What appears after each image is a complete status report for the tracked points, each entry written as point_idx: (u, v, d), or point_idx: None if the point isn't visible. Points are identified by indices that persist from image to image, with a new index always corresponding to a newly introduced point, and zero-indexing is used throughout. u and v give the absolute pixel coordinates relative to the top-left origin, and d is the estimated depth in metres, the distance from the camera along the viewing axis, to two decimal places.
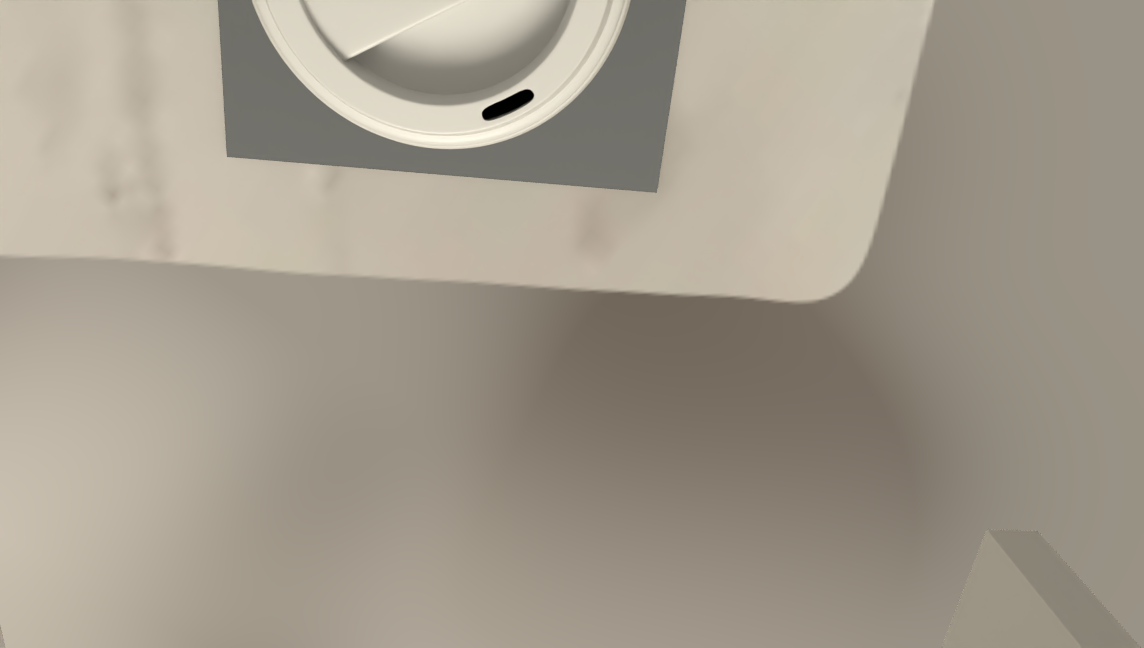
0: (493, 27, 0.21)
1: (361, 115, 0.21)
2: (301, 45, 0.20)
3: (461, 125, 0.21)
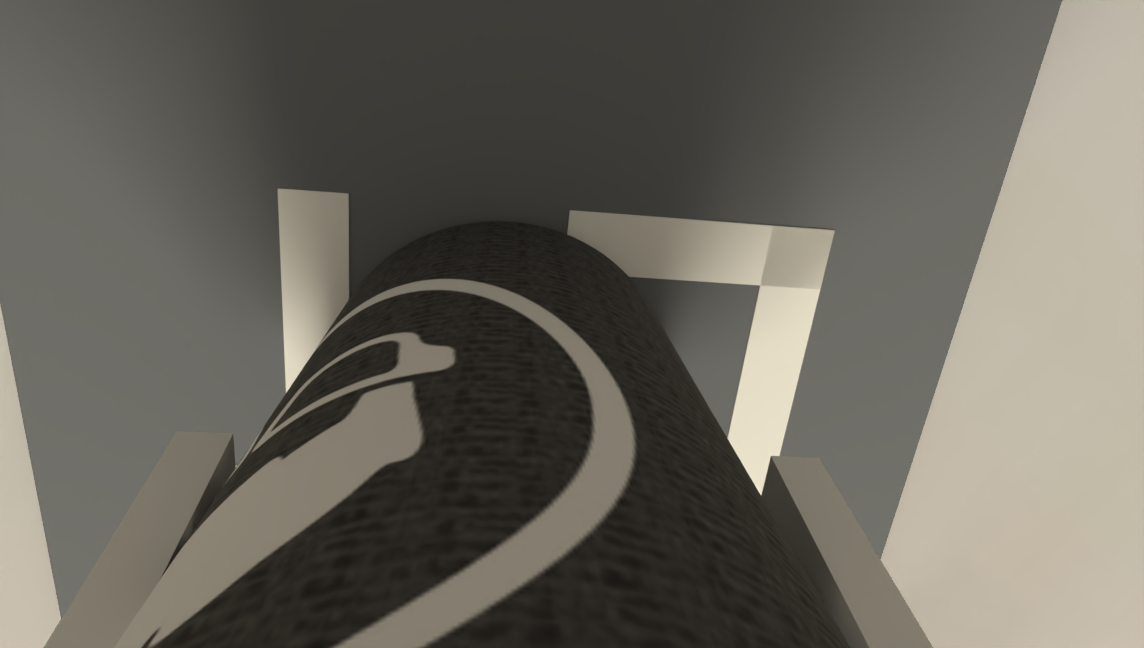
0: None
1: None
2: None
3: None
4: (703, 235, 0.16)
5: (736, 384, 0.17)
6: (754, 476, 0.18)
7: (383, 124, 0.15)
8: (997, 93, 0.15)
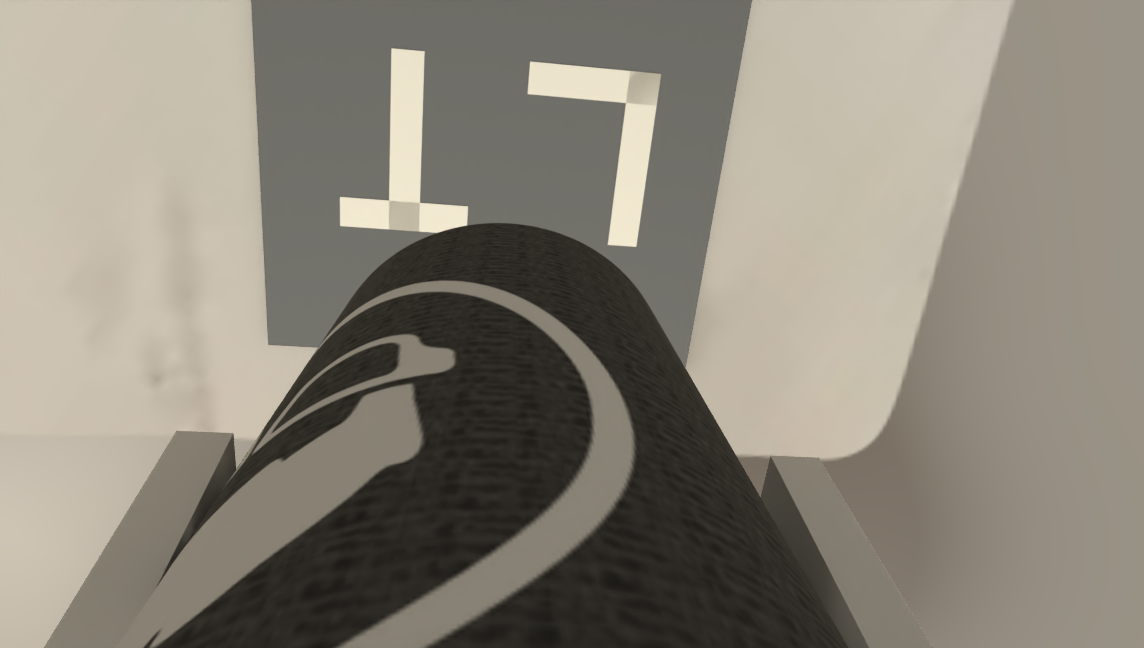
0: None
1: None
2: None
3: None
4: (596, 75, 0.32)
5: (617, 158, 0.34)
6: (630, 213, 0.35)
7: (442, 16, 0.31)
8: (734, 4, 0.32)
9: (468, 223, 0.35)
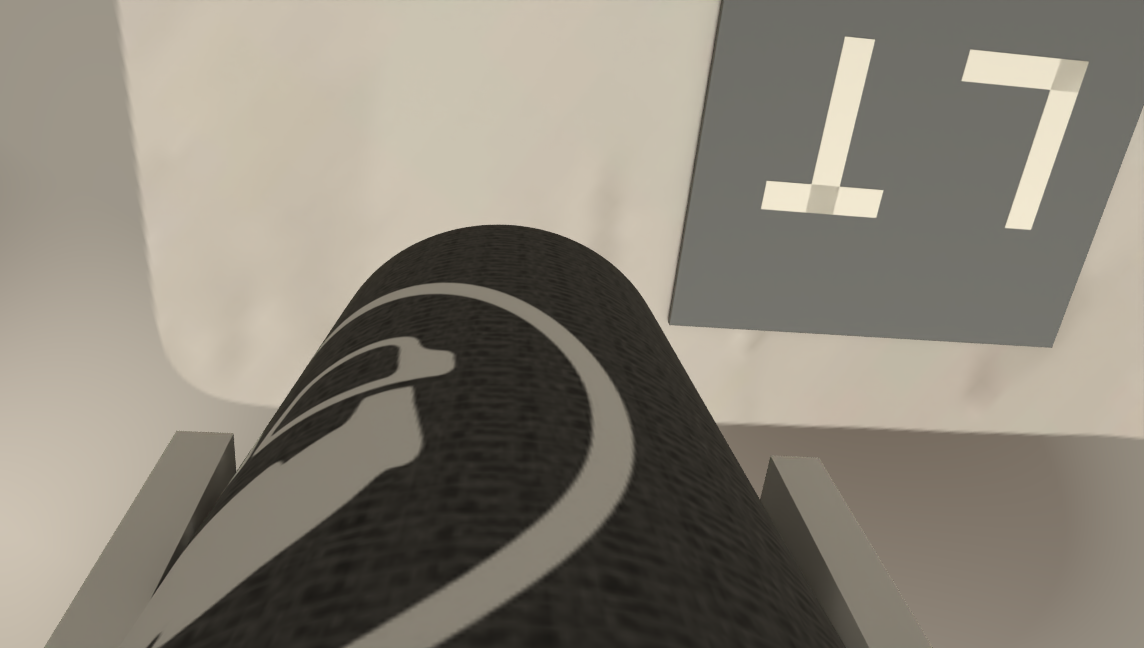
0: None
1: None
2: None
3: None
4: (1028, 63, 0.34)
5: (1031, 143, 0.35)
6: (1032, 197, 0.36)
7: (897, 6, 0.32)
8: None
9: (879, 206, 0.36)
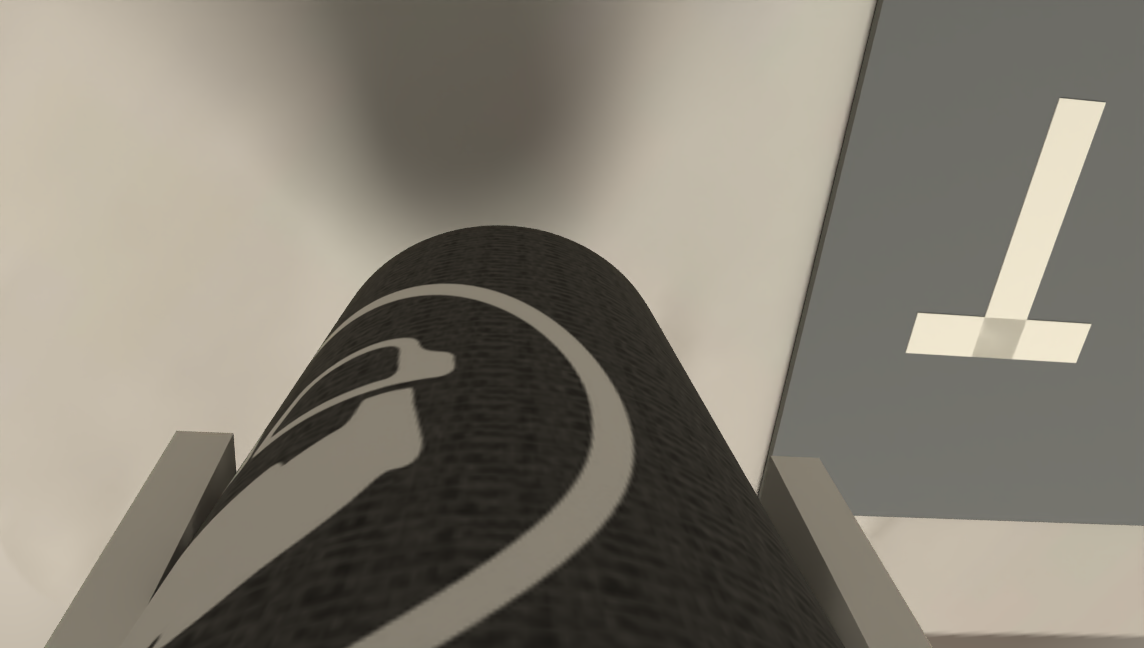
0: None
1: None
2: None
3: None
4: None
5: None
6: None
7: None
8: None
9: (1082, 347, 0.24)
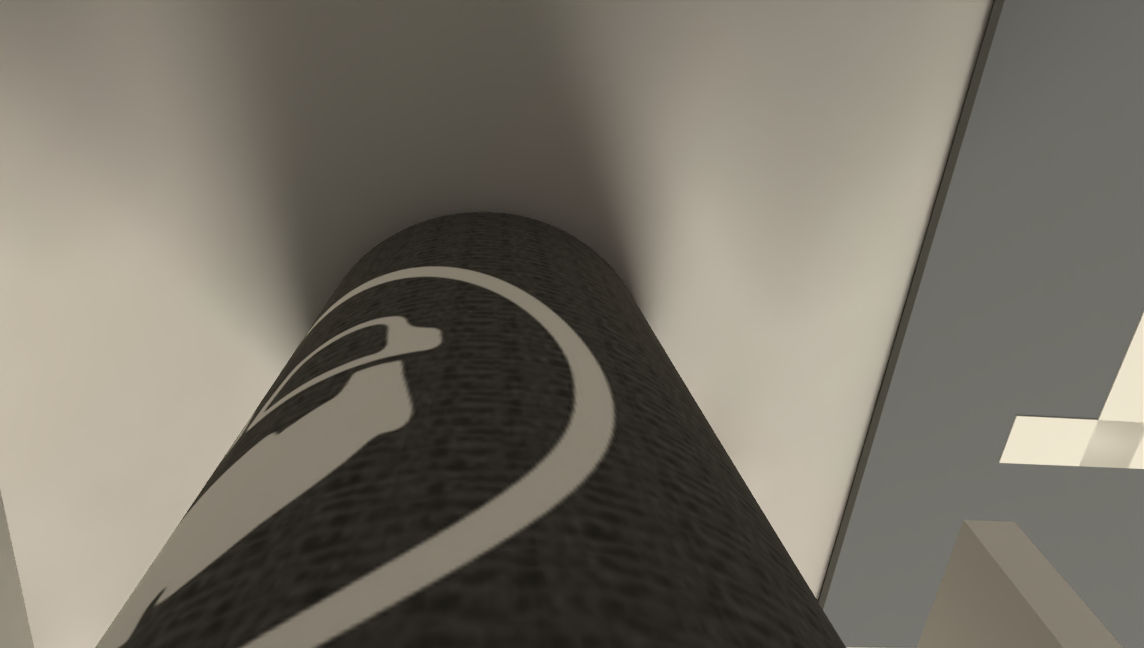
0: None
1: None
2: None
3: None
4: None
5: None
6: None
7: None
8: None
9: None
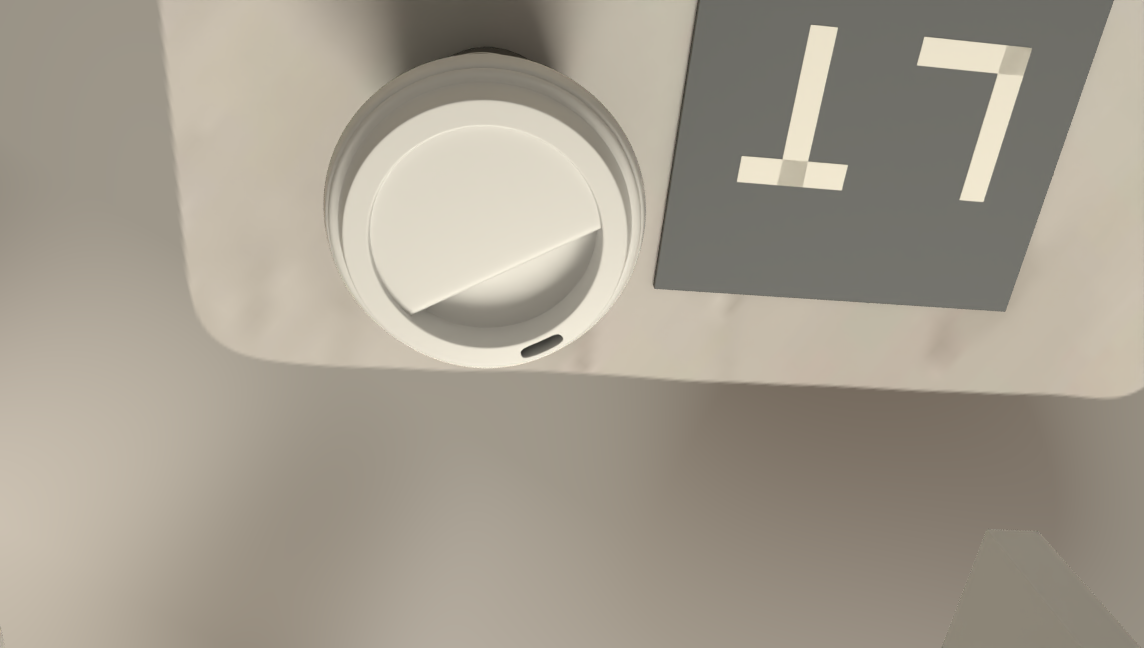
0: (528, 276, 0.26)
1: None
2: (377, 308, 0.24)
3: (504, 361, 0.25)
4: (977, 49, 0.37)
5: (981, 122, 0.39)
6: (983, 172, 0.40)
7: None
8: None
9: (844, 180, 0.39)
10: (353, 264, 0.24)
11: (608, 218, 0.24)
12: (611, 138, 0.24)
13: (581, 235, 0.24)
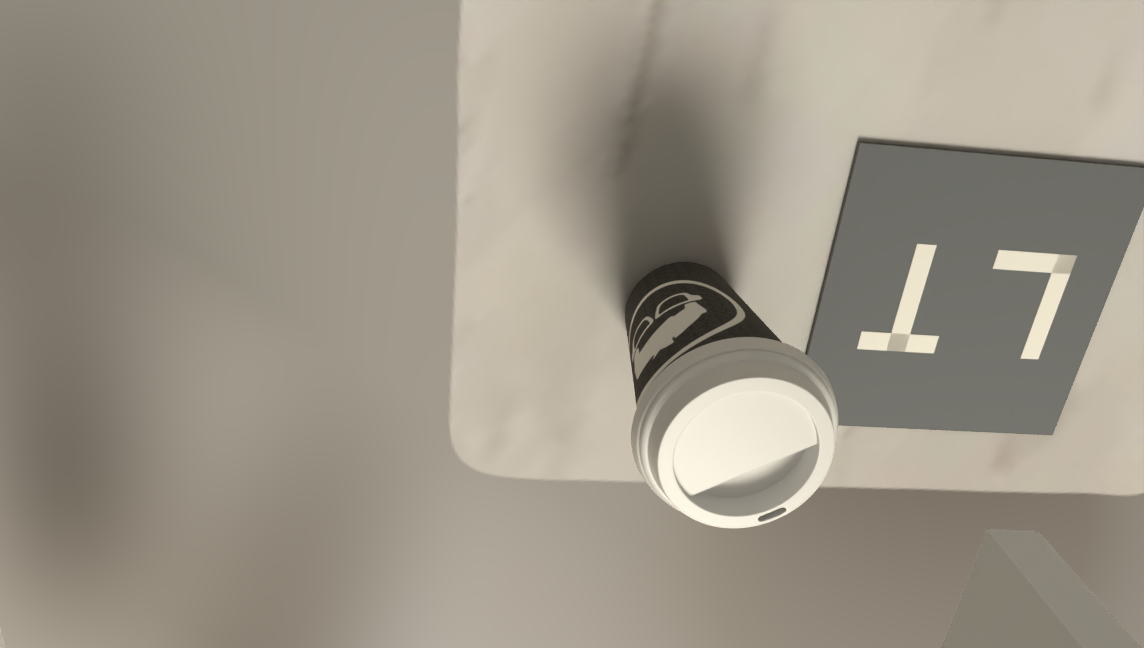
0: (760, 466, 0.40)
1: None
2: (672, 494, 0.38)
3: (747, 524, 0.39)
4: (1037, 257, 0.51)
5: (1038, 306, 0.52)
6: (1039, 339, 0.53)
7: (952, 225, 0.50)
8: (1130, 214, 0.50)
9: (936, 346, 0.53)
10: (662, 470, 0.37)
11: (823, 439, 0.38)
12: (825, 388, 0.38)
13: (804, 448, 0.38)
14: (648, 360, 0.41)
